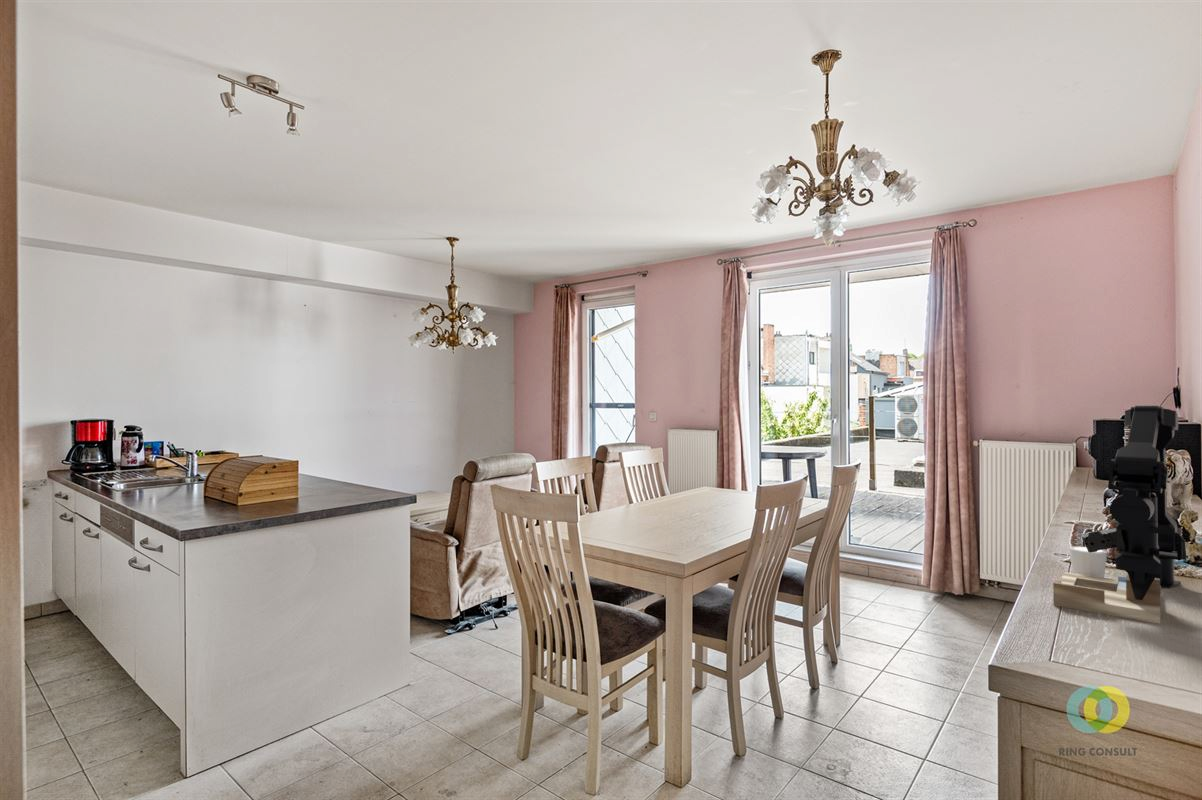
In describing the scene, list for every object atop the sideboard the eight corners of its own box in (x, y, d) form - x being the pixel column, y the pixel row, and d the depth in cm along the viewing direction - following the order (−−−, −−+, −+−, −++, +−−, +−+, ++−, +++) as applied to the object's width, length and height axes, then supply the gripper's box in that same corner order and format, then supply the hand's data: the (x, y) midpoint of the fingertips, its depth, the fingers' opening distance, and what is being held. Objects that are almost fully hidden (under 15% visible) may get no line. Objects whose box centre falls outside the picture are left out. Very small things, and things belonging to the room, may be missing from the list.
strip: (1118, 588, 134) (1118, 575, 134) (1158, 594, 130) (1158, 581, 130) (1117, 596, 128) (1117, 583, 129) (1159, 603, 124) (1158, 589, 124)
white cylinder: (1114, 584, 137) (1114, 553, 137) (1079, 582, 138) (1079, 552, 138) (1096, 575, 144) (1095, 546, 144) (1063, 574, 145) (1063, 545, 145)
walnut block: (1126, 593, 124) (1126, 574, 124) (1160, 598, 121) (1159, 578, 121) (1126, 599, 121) (1126, 579, 121) (1160, 605, 117) (1160, 584, 117)
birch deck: (1064, 580, 140) (1064, 561, 140) (1158, 594, 129) (1158, 573, 129) (1053, 605, 124) (1053, 583, 124) (1160, 623, 113) (1159, 599, 113)
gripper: (1088, 507, 130) (1089, 580, 130) (1081, 521, 116) (1082, 602, 116) (1158, 513, 123) (1159, 591, 123) (1160, 529, 109) (1161, 616, 109)
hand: (1138, 599), depth 118 cm, fingers closed
